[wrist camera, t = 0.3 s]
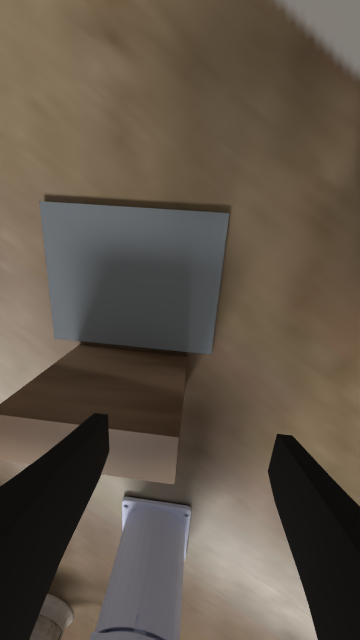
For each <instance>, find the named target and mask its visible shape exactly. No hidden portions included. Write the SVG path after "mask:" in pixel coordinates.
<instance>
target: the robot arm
mask: <svg viewBox="0 0 360 640" xmlns="http://www.w3.org/2000/svg"><path fill="white" fill-rule="evenodd" d="M108 454H109V426H108V414H100V413H94V414H92V415H91V416H90V417H89V418H88V419H86V420H85V421H84V422H83V423H82V424H80V425H79V426H78V427H77V428H76V429H74V430H73V431H72V432H71V433H70V434H68V435H67V436H66V437H65V438H64V439H62V440H61V441H60V442H59V443H58V444H56V445H55V446H54V447H53V448H51V449H50V450H49V451H48V452H46V453H45V454H44V455H43V456H41V457H40V458H39V459H37V460H36V461H35V462H33V463H32V464H31V465H29V466H28V467H27V468H25V469H24V470H23V471H21V472H20V473H19V474H17V475H16V476H15V477H13V478H12V479H10V480H9V481H8V482H6V483H5V484H3V485H2V486H1V487H0V640H29V639H30V637H31V634H32V632H33V629H34V626H35V624H36V621H37V619H38V616H39V613H40V611H41V608H42V606H43V603H44V601H45V598H46V596H47V593H48V591H49V588H50V586H51V583H52V581H53V578H54V576H55V573H56V571H57V568H58V566H59V563H60V561H61V559H62V557H63V554H64V552H65V550H66V548H67V546H68V543H69V541H70V539H71V537H72V535H73V533H74V531H75V529H76V527H77V525H78V523H79V521H80V519H81V516H82V514H83V512H84V510H85V508H86V506H87V504H88V502H89V500H90V498H91V496H92V493H93V491H94V489H95V487H96V485H97V483H98V481H99V479H100V476H101V473H102V471H103V468H104V465H105V463H106V460H107V457H108ZM268 474H269V478H270V483H271V488H272V492H273V496H274V500H275V504H276V507H277V510H278V513H279V516H280V519H281V522H282V525H283V528H284V531H285V534H286V537H287V540H288V543H289V546H290V549H291V552H292V555H293V558H294V561H295V564H296V567H297V570H298V573H299V576H300V579H301V582H302V585H303V588H304V591H305V595H306V598H307V601H308V604H309V608H310V612H311V616H312V619H313V623H314V627H315V631H316V634H317V638H318V640H360V506H359V505H358V504H357V503H356V502H355V501H354V500H353V499H352V498H351V497H350V496H349V495H348V494H347V493H346V492H345V491H344V490H343V489H342V488H341V487H340V486H339V485H338V484H337V483H336V482H335V481H334V480H333V479H332V478H331V477H330V476H329V475H328V473H327V472H326V471H325V470H324V469H323V468H322V467H321V466H320V465H319V464H318V463H317V462H316V461H315V460H314V458H313V457H312V456H311V455H310V454H309V453H308V452H307V451H306V450H305V449H304V448H303V447H302V445H301V444H300V443H299V442H298V441H297V440H296V439H295V438H294V437H293V436H291V435H283V434H277V436H276V440H275V444H274V448H273V452H272V456H271V461H270V465H269V469H268ZM190 518H191V507H189V506H187V505H180V504H173V503H166V502H159V501H152V500H146V499H139V498H132V497H124V498H123V500H122V536H121V539H120V543H119V547H118V550H117V554H116V557H115V561H114V565H113V568H112V572H111V576H110V579H109V583H108V586H107V590H106V594H105V597H104V601H103V605H102V608H101V612H100V615H99V619H98V623H97V626H96V630H95V632H92V633H91V637H90V640H180V629H181V609H182V588H183V567H184V560H185V557H186V549H187V541H188V533H189V525H190Z"/></svg>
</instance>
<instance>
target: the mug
mask: <svg viewBox="0 0 360 640" xmlns="http://www.w3.org/2000/svg"><path fill="white" fill-rule="evenodd" d="M73 619H74V613H73V611H72V609H71V607H70V606H69V605H67V604H66V603H65V602H64V601H63V600H61V599H59V598H58V597H56V596H53V595H51V594H48V593H47V596H46V598H45V601H44V603H43V606H42V608H41V611H40V613H39V616H38V619H37V621H36V624H35V626H34V629H33V632H32V634H31V637H30V639H29V640H61V638H62V635H63V632H64V630H65V628H66V627H67V626H68V625H70V624H71V622H72V621H73Z"/></svg>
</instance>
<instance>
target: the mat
mask: <svg viewBox="0 0 360 640" xmlns="http://www.w3.org/2000/svg"><path fill="white" fill-rule="evenodd" d="M39 202H40V211H41V220H42V229H43V238H44V247H45V256H46V265H47V274H48V283H49V292H50V301H51V310H52V319H53V328H54V337H55V339H65V340H74V341H84V342H94V343H103V344H113V345H123V346H133V347H142V348H152V349H162V350H172V351H181V352H191V353H201V354H211V353H212V345H213V337H214V329H215V321H216V314H217V306H218V298H219V290H220V282H221V274H222V267H223V259H224V251H225V243H226V235H227V228H228V220H229V213H218V212H203V211H187V210H171V209H155V208H139V207H123V206H107V205H91V204H76V203H60V202H44V201H39Z"/></svg>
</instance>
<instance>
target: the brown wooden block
mask: <svg viewBox="0 0 360 640" xmlns="http://www.w3.org/2000/svg"><path fill="white" fill-rule="evenodd" d="M187 359H188V356H187V355H177V354H168V353H158V352H148V351H139V350H129V349H119V348H110V347H100V346H90V345H81V344H80V345H78V346H77V347H76V348H74V349H73V350H72V351H70V352H69V353H68V354H66V355H65V356H64V357H62V358H61V359H60V360H58V361H57V362H56V363H54V364H53V365H52V366H50V367H49V368H48V369H46V370H45V371H44V372H42V373H41V374H40V375H38V376H37V377H36V378H34V379H33V380H32V381H30V382H29V383H28V384H26V385H25V386H24V387H22V388H21V389H20V390H18V391H17V392H16V393H14V394H13V395H12V396H10V397H9V398H8V399H6V400H5V401H4V402H2V403H1V404H0V460H4V461H10V462H17V463H24V464H32V463H33V462H35V461H36V460H37V459H39V458H40V457H41V456H43V455H44V454H45V453H46V452H48V451H49V450H50V449H51V448H53V447H54V446H55V445H56V444H58V443H59V442H60V441H61V440H62V439H64V438H65V437H66V436H67V435H68V434H70V433H71V432H72V431H73V430H74V429H76V428H77V427H78V426H79V425H80V424H82V423H83V422H84V421H85V420H86V419H88V418H89V417H90V416H91V415H92V414H94V413H100V414H108V426H109V454H108V457H107V460H106V463H105V465H104V468H103V471H102V473H101V474H102V475H110V476H117V477H124V478H131V479H138V480H145V481H152V482H159V483H167V484H175V476H176V467H177V457H178V448H179V438H180V429H181V419H182V410H183V400H184V391H185V380H186V369H187Z"/></svg>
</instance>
